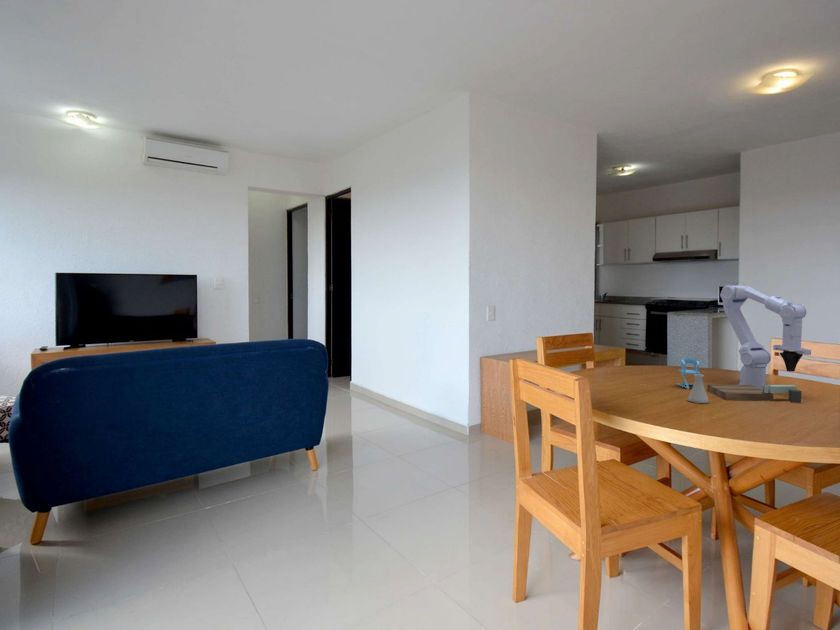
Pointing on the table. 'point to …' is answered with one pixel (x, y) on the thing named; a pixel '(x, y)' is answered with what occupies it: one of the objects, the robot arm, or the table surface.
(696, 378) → the flask
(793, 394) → the block
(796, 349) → the robot arm
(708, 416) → the table surface
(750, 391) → the stool seat
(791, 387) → the folding leg
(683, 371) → the chair
